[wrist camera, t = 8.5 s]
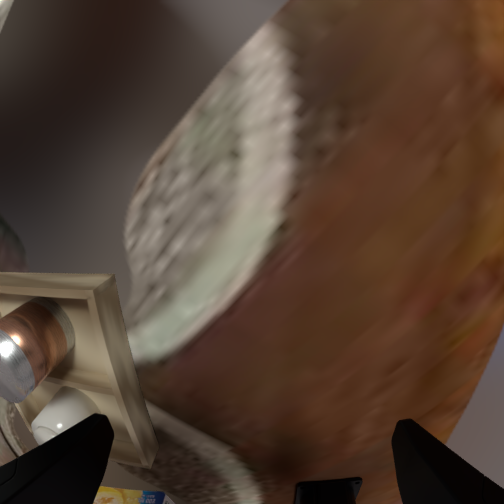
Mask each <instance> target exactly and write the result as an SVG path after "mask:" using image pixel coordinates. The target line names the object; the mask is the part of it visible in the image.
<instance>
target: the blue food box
mask: <svg viewBox="0 0 504 504" xmlns="http://www.w3.org/2000/svg"><path fill="white" fill-rule="evenodd" d="M93 504H175V503H174V502H173V501H172V500H171V499H170V498H169V497H168V496H167V495H166V494H165V493H164V492H160V491H143V490H130V489H120V488H112V487H104V486H100V487H99V490H98V492H97V495H96V497H95V500H94V503H93Z"/></svg>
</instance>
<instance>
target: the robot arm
mask: <svg viewBox="0 0 504 504" xmlns="http://www.w3.org/2000/svg"><path fill="white" fill-rule="evenodd" d="M113 440H114V430H113V428H112V426H111V423H110V421H109V419H108V417H107V416H106V415H104V414H100V413H94V414H92V415H90V416H89V417H87V418H85V419H84V420H82V421H80V422H79V423H77V424H75V425H74V426H72V427H70V428H69V429H67V430H65V431H63V432H62V433H60V434H58V435H57V436H55V437H53V438H51V439H50V440H48V441H46V442H45V443H43V444H41V445H39V446H38V447H36V448H34V449H32V450H30V451H29V452H27V453H25V454H23V455H21V456H20V457H18V458H16V459H14V460H12V461H10V462H8V463H7V464H5V465H3V466H1V467H0V504H93V503H94V500H95V497H96V495H97V492H98V490H99V487H100V484H101V482H102V479H103V476H104V473H105V470H106V467H107V463H108V459H109V455H110V452H111V448H112V444H113ZM392 449H393V456H394V462H395V469H396V476H397V483H398V487H399V491H400V495H401V499H402V502H403V504H504V489H503V488H502V487H500V486H499V485H497V484H496V483H495V482H493V481H492V480H490V479H489V478H488V477H486V476H484V474H482V473H481V472H479V471H478V470H477V469H476V468H474V467H473V466H472V465H470V464H469V463H467V462H466V461H465V460H464V459H462V458H461V457H460V456H459V455H457V454H456V453H455V452H453V451H452V450H451V449H449V448H448V447H447V446H446V445H444V444H443V443H442V442H440V441H439V440H438V439H437V438H435V437H434V436H433V435H431V434H430V433H429V432H428V431H426V430H425V429H424V428H423V427H421V426H420V425H419V424H418V423H416V422H415V421H414V420H412V419H403V420H399V421H398V422H397V424H396V427H395V430H394V433H393V436H392ZM361 485H362V478H360V477H359V478H350V479H341V480H331V481H318V482H302V483H299V484H298V485H297V492H296V500H295V504H356V501H355V500H356V497H357V495H358V492H359V490H360V487H361Z"/></svg>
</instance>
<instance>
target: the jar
mask: <svg viewBox="0 0 504 504" xmlns="http://www.w3.org/2000/svg"><path fill="white" fill-rule="evenodd" d="M94 413H100V414H101V412H100V410H99V408H98V406H97V405H96V404H95V402H94V401H93V400H92V399H91V398H90V397H89V396H87V395H86V394H85V393H83V392H82V391H80V390H78V389H76V388H72V387H68V386H65V387H62V388H60V389H59V390H58V392H57V393H56V394H55V395H54V396H53V398H52V399H51V400H50V401H49V402H48V404H47V405H46V406H45V407H44V408H43V410H42V411H41V412H40V413H39V415H38V416H37V417H36V418H35V419H34V421H33V422H32V424H31V427H32V431H33V433H34V438H35V440H36V441H37V443H38V444H39V445H41V444H43V443H45V442H46V441H48V440H50V439H51V438H53V437H55V436H57V435H58V434H60V433H62V432H63V431H65V430H67V429H69V428H70V427H72V426H74V425H75V424H77V423H79V422H80V421H82V420H84V419H85V418H87V417H89V416H90V415H92V414H94Z"/></svg>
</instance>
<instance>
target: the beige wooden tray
mask: <svg viewBox="0 0 504 504" xmlns="http://www.w3.org/2000/svg"><path fill="white" fill-rule="evenodd" d="M38 296H43V297H47V298H49V299H51V300H53V301H55V302H56V303H57V304H58V305H59V306H60V307H61V308H62V309H63V310H64V311H65V313H66V314H67V316H68V317H69V319H70V321H71V323H72V325H73V328H74V332H75V344H74V347H73V349H72V350H71V352H70V353H69V354H68V355H67V356H66V357H65V358H64V359H63V361H62V362H61V363H60V364H59V365H58V366H57V367H56V368H55V369H54V370H53V371H52V372H51V373H50V374H49V375H48V376H47V377H46V378H45V379H44V380H43V381H42V382H41V383H40V384H39V385H38V386H37V387H36V388H35V389H34V391H33V392H31V393H30V394H29V395H28V396H27V397H26V398H25V399H24V400H23V401H22V402H21V403H15V405H16V407H17V409H18V411H19V413H20V414H21V416H22V418H23V420H24V422H25V423H26V425H27V427H28V429H29V430H30V432H31V434H32V435H33V436H34V433H33V431H32V427H31V424H32V422H33V421H34V419H35V418H36V417H37V416H38V415H39V413H40V412H41V411H42V410H43V408H44V407H45V406H46V405H47V404H48V402H49V401H50V400H51V399H52V398H53V396H54V395H55V394H56V393H57V392H58V390H59V389H60V388H62V387H65V386H68V387H72V388H76V389H78V390H80V391H82V392H83V393H85V394H86V395H87V396H89V397H90V398H91V399H92V400H93V401H94V402H95V404H96V405H97V406H98V408H99V410H100V412H101V414H104V415H106V416H107V417H108V419H109V421H110V423H111V426H112V428H113V430H114V440H113V444H112V448H111V452H110V455H109V459H108V460H110V461H114V462H118V463H122V464H127V465H131V466H136V467H141V468H146V469H151V467H152V464H153V462H154V459H155V456H156V454H157V451H158V449H159V444H158V441H157V438H156V435H155V432H154V429H153V426H152V423H151V420H150V417H149V414H148V411H147V408H146V405H145V401H144V398H143V395H142V391H141V388H140V384H139V381H138V377H137V374H136V370H135V366H134V363H133V359H132V355H131V351H130V347H129V343H128V338H127V334H126V330H125V325H124V321H123V316H122V311H121V307H120V301H119V297H118V291H117V286H116V280H115V274H69V273H68V274H67V273H15V272H0V319H1V318H2V317H4V316H5V315H7V314H8V313H10V312H11V311H13V310H15V309H16V308H18V307H19V306H21V305H22V304H24V303H26V302H28V301H30V300H31V299H33V298H35V297H38Z"/></svg>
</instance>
